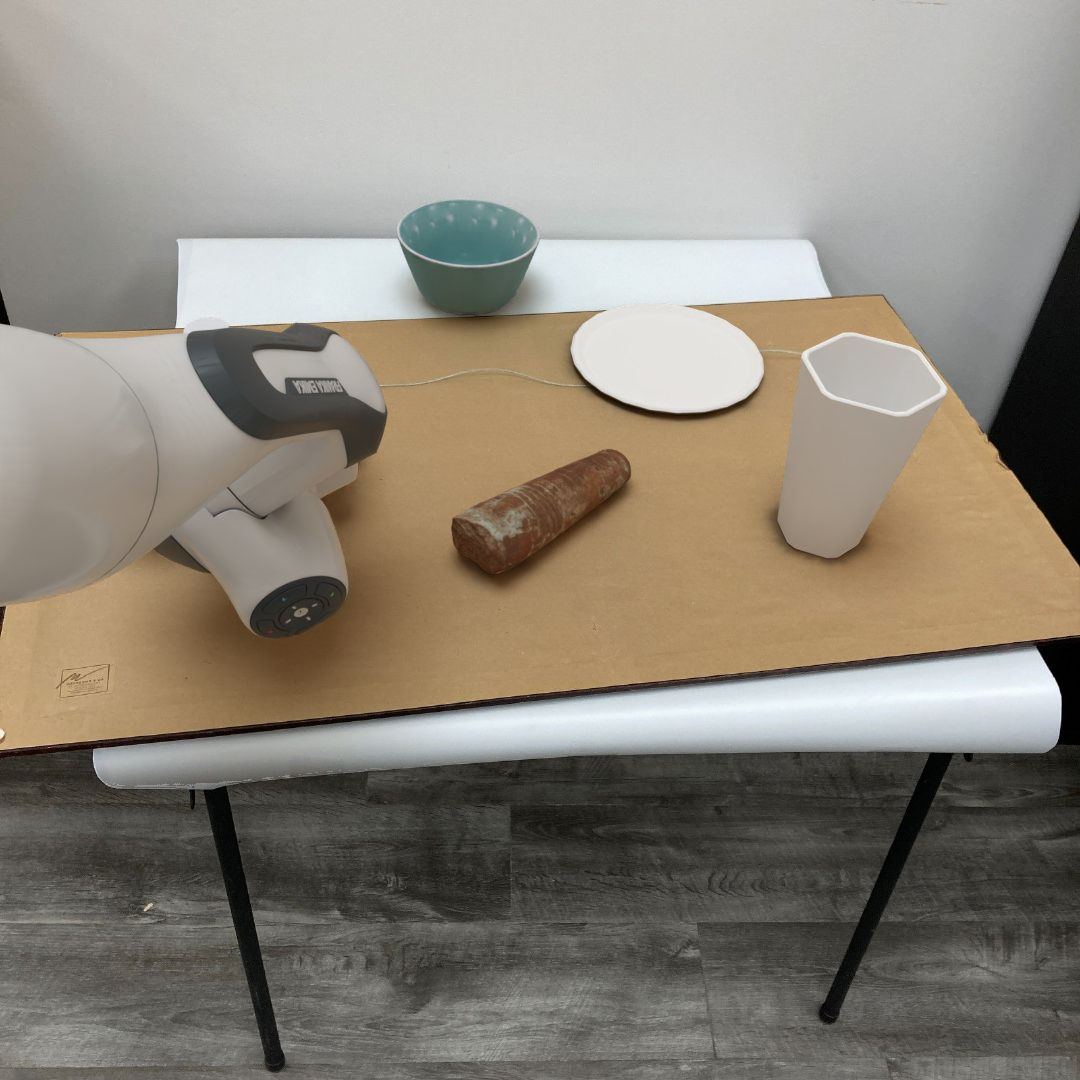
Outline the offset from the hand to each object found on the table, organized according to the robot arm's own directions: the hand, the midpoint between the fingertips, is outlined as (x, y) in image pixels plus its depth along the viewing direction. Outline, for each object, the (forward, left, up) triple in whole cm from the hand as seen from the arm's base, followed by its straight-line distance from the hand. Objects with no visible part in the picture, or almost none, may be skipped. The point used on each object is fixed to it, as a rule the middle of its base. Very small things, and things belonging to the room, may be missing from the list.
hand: (217, 377), depth 87 cm
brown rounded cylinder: (+24, -19, -8) cm, 32 cm away
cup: (+47, -28, -8) cm, 55 cm away
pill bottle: (0, +4, -7) cm, 8 cm away
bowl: (+30, +19, -8) cm, 36 cm away
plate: (+46, 0, -8) cm, 47 cm away
